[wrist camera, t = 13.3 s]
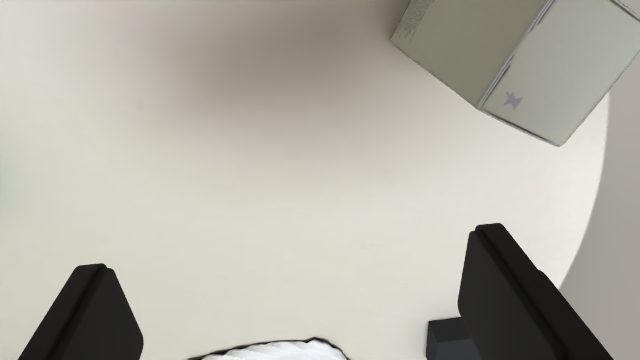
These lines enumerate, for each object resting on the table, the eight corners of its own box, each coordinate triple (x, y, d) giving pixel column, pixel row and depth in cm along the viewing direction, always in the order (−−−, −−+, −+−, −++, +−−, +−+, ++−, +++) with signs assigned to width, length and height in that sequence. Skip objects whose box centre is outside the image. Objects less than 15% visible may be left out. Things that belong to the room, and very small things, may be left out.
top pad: (428, 321, 40) (437, 343, 38) (482, 314, 40) (494, 335, 38) (425, 355, 43) (433, 377, 40) (476, 349, 43) (486, 370, 41)
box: (442, 69, 27) (558, 159, 16) (386, 40, 25) (470, 116, 14) (491, -10, 24) (667, 30, 13) (432, -46, 23) (574, -35, 12)
